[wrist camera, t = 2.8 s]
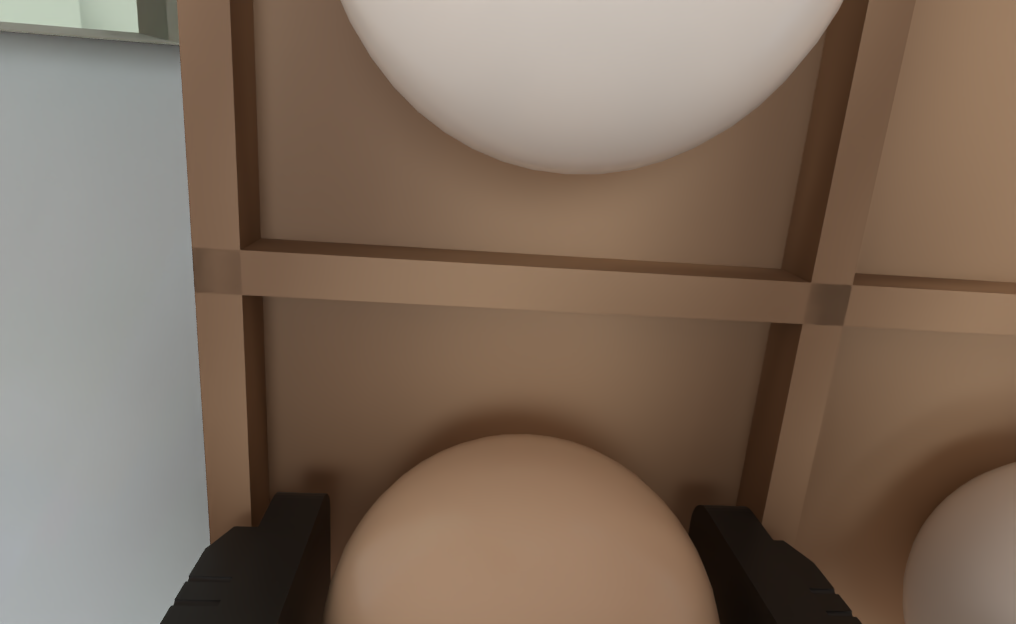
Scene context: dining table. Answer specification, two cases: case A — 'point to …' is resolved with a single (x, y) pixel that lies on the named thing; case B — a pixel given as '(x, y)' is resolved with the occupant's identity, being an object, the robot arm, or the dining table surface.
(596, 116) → the white egg
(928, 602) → the white egg
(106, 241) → the dining table surface
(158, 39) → the dish
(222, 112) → the egg tray
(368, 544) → the brown egg
